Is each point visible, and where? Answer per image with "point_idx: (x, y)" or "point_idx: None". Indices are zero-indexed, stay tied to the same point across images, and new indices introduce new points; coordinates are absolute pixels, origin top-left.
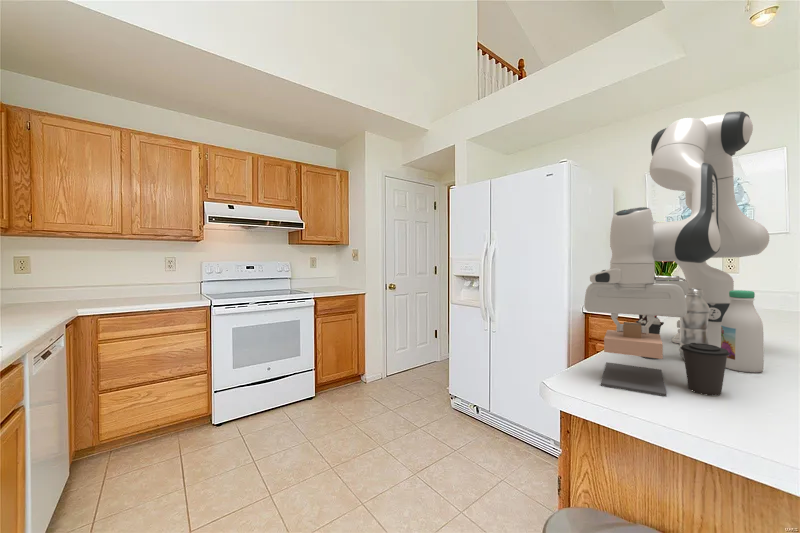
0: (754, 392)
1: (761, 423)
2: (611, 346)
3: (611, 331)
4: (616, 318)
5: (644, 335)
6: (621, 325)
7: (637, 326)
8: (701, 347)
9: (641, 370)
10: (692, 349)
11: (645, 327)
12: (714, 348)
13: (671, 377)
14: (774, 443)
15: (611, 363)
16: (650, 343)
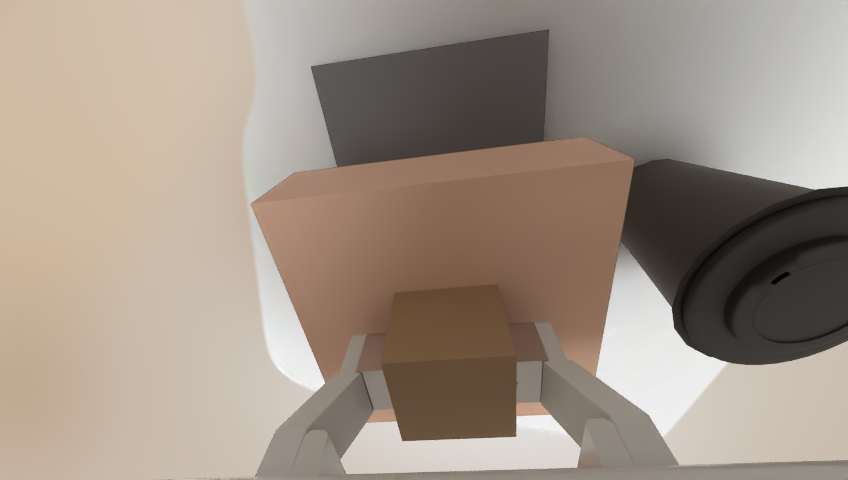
0: (832, 115)
1: (691, 348)
2: None
3: (303, 254)
4: (323, 415)
5: (517, 272)
6: (386, 408)
7: (490, 430)
8: (774, 344)
9: (466, 112)
10: (716, 347)
11: (540, 400)
12: (840, 332)
13: (574, 101)
14: (667, 407)
15: (336, 73)
16: (537, 410)
